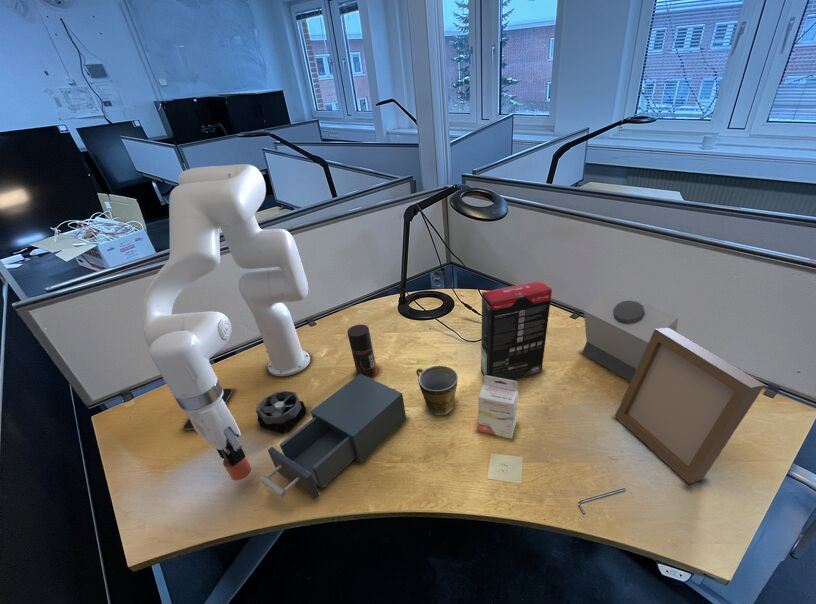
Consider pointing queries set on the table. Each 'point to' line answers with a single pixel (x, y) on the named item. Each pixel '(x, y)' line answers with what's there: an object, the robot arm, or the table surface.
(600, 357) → the alarm clock
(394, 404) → the cabinet
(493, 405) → the ink cartridge box
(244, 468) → the nail polish bottle
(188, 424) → the smartphone
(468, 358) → the table surface
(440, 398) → the ceramic cup
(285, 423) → the cpu cooler
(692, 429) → the photo frame
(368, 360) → the deodorant
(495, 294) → the graphics card box
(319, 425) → the drawer
